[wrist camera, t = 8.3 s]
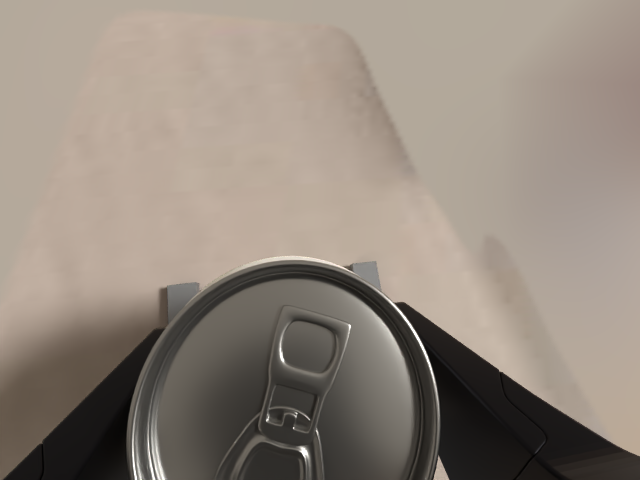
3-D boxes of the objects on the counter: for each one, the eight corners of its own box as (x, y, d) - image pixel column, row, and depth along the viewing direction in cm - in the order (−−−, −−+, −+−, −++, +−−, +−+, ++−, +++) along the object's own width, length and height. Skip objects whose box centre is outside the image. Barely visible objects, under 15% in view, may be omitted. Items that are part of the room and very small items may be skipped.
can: (208, 392, 16) (12, 599, 4) (248, 276, 18) (187, 199, 6) (324, 423, 16) (434, 693, 5) (352, 306, 18) (482, 288, 6)
